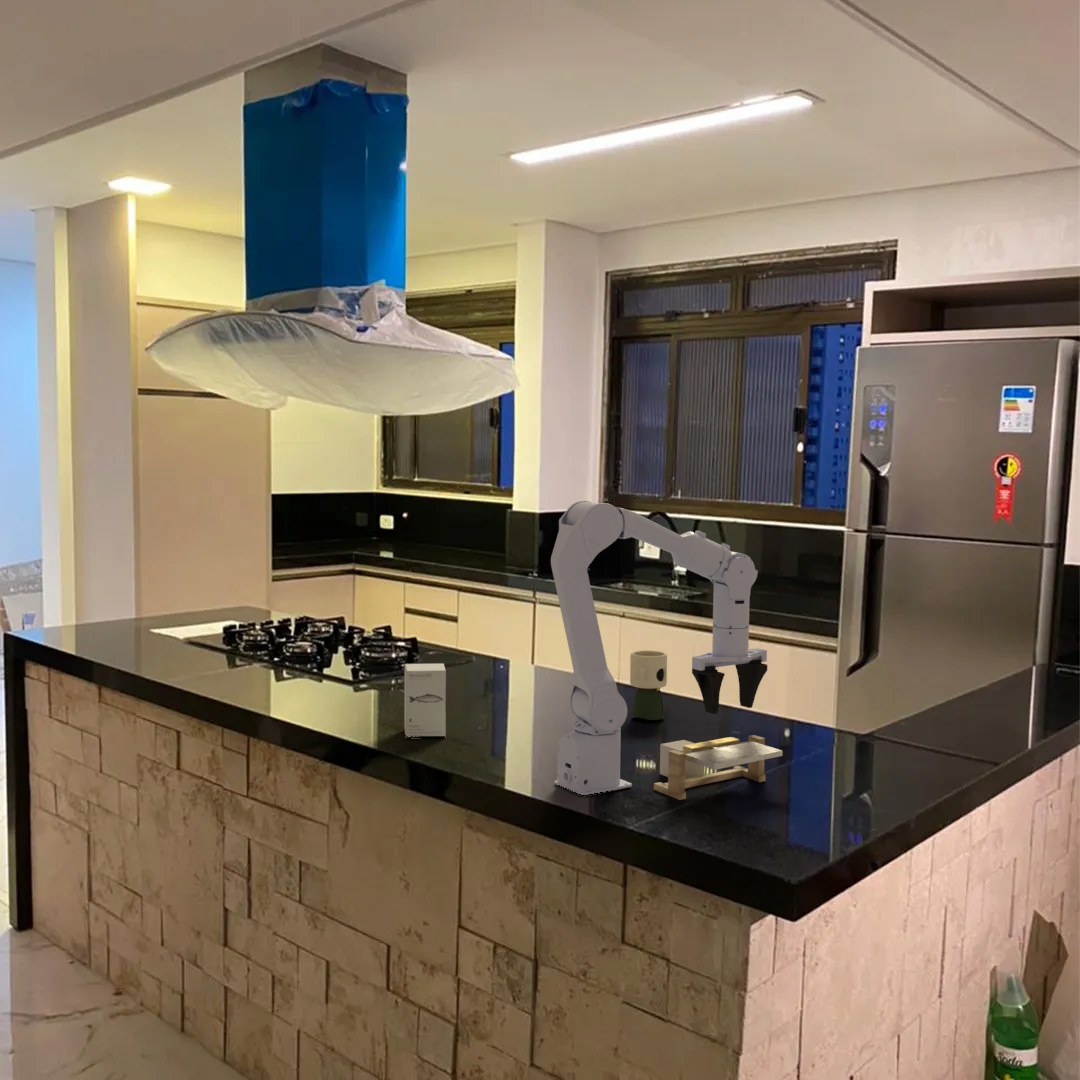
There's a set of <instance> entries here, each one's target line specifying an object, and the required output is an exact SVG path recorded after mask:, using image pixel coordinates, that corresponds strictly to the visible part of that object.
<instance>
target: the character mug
mask: <svg viewBox="0 0 1080 1080" xmlns="http://www.w3.org/2000/svg"><path fill="white" fill-rule="evenodd" d="M629 671H630V672H629V673H630V674H629V675H630V677H629V683H630V685H631V686H632V687H635V688H636V689H635V692H634V693H633V701H632V710H631V716H632V718H638V719H644V721H645V722H647V721H648V720H649V721H658V720H662V719H663V718H664V717H665V710H664V709H665V708H664V701H663V694H662V692H661V688H664V687H666V686H667V684H668V683H667V682H668V681H667V680H668V677H667V676H668V654H667V653H666V652H663V651H658V650H635V651H632V652H630V667H629Z"/></svg>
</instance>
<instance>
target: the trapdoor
mask: <svg viewBox="0 0 1080 1080" xmlns="http://www.w3.org/2000/svg"><path fill="white" fill-rule="evenodd" d="M740 741H741V740H740V738H736V737H734V736H733V737H732V736H729V737H723V738H718V739H713V740H711V739H710V740H708V741H707V740H706V741H702V742H701V741H700V742H696V743H695V742H694V743H695V744H689V745H684V746H683V753H685V760H688V761H691V762H693V763H696V764H699V765H702V766H704V768H705V767H706V768H708V769H710V770H713V771H715V770H716V771H717V770H720V769H721V770H722V769H726V768H731V767H735V766H740V765H745V764H748V763H750V762H755V761H760V760H764V761H765V760H768V759H774V758H778V757H783V750H782V749H779V748H775V747H772V746H769V745H766V744H765V745H763V744H759V743H756V742H753V741H747V740H746V741H742V742H740Z"/></svg>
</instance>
